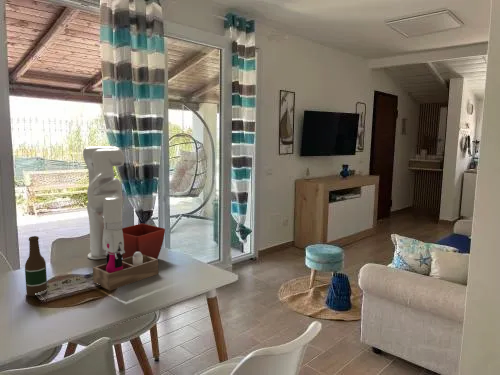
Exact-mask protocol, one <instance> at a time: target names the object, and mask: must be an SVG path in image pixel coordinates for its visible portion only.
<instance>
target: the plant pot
mask: <svg viewBox="0 0 500 375" xmlns="http://www.w3.org/2000/svg"><path fill="white" fill-rule="evenodd" d="M122 231H123V239H124V251H125V253H124V255H123V258H122V259H124V258H128V257H131V256H133V255H134V253H135V252H141V253H142V254H143V255H146V256H149V257H152V258H155V259H158V258H159V255H160V253H161V250H162V246H163V242H164V239H165V234H166V228H164V227H159V226H156V225H155V226H154V225H152V224H146V223H138V224H133V225H129V226H126V227H122Z"/></svg>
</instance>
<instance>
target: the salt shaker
mask: <svg viewBox="0 0 500 375" xmlns="http://www.w3.org/2000/svg"><path fill="white" fill-rule="evenodd" d="M142 263H143V255H142V253H141V252H135V253H134V255H133V265H134V266H136V265H139V264H142Z"/></svg>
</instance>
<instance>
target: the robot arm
mask: <svg viewBox="0 0 500 375" xmlns="http://www.w3.org/2000/svg"><path fill="white" fill-rule="evenodd" d="M82 156H83V157H82V158H83V160H84V163H85V165H86V167H87V170H88V187H87V193H86V195H87V203H86V209H87V214H88V222H89V242H90V244H89V245H90V247H89V248H88V250H90V252H89V253H88V254H87V258H88V259H90V260H104V259H106V263H107V264H108V262H109V257H110V256H109V254H108V251H109V252H111V253H115V258H116V259H115V268H118V267H121V266H122V259H123V255H124V253H125V251H124V239H123V231H122V228H123V205H124V200H123V195H122V183H121V180H120V179H119V178H118V177H115V172H114V170H115V169H114V167H122V166H123V165H124V164H125V155H124V152H123V150H122V149H121V148H119V147H118V146H87V147H85V148H83V150H82ZM107 244H109V248H107ZM118 250H119V251H118ZM117 253H119V254H118V255H117Z"/></svg>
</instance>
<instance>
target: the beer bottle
mask: <svg viewBox="0 0 500 375" xmlns="http://www.w3.org/2000/svg"><path fill="white" fill-rule="evenodd" d="M39 239H40V238H39V236H37V235H34V236H30V237H28V241H29V243H28V244H29V248H28V249H29V253H28V258H27V259H26V261H25V265H24V275H25V276H24V278H25V288H26V289H25V290H26V291H25V292H26V295H27V296H29V297H32V298H33V297H36V296H35V293H38V292H41V291H44V290H46V289H47V290H48V278H47V274H48V273H47V264H46V259H45V258H44V256H42V254H41V251H40V244H39Z"/></svg>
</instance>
